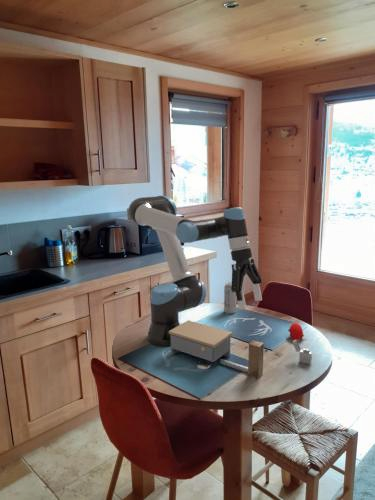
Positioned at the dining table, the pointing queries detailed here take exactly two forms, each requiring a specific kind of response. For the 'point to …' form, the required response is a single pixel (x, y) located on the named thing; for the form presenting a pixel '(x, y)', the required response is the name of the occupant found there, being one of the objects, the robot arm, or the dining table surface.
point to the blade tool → (251, 360)
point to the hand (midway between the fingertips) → (251, 304)
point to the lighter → (303, 353)
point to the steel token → (203, 365)
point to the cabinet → (200, 340)
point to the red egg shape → (296, 331)
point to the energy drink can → (229, 299)
